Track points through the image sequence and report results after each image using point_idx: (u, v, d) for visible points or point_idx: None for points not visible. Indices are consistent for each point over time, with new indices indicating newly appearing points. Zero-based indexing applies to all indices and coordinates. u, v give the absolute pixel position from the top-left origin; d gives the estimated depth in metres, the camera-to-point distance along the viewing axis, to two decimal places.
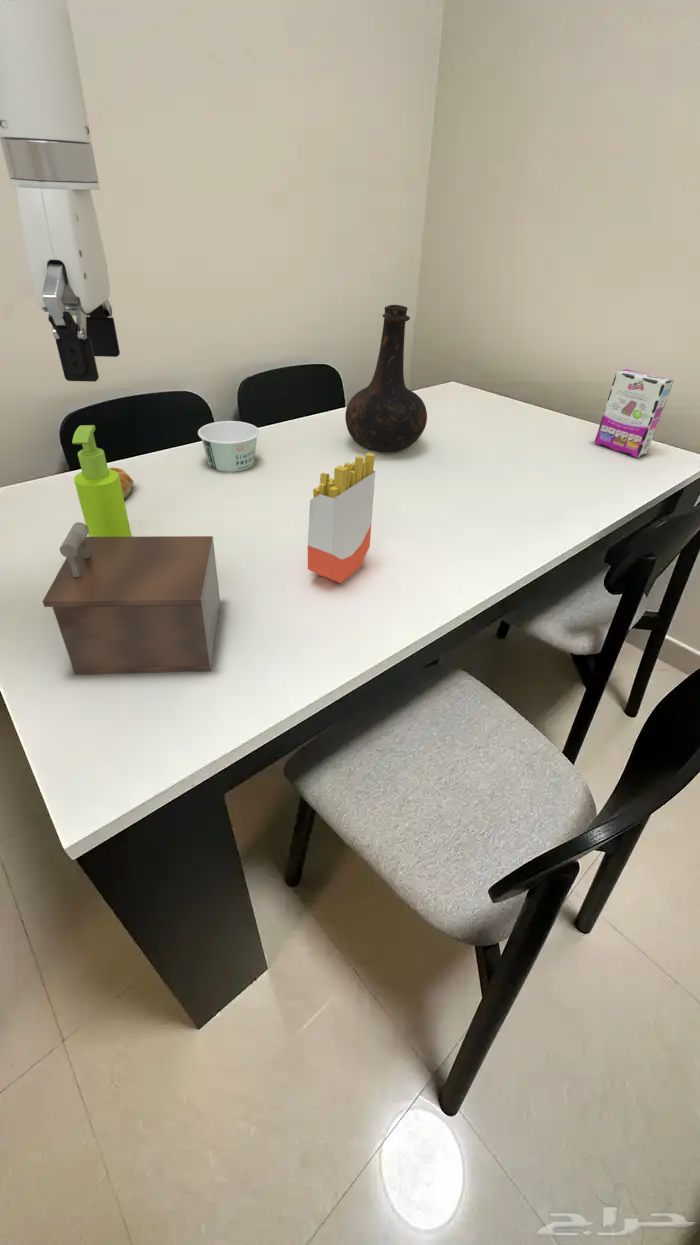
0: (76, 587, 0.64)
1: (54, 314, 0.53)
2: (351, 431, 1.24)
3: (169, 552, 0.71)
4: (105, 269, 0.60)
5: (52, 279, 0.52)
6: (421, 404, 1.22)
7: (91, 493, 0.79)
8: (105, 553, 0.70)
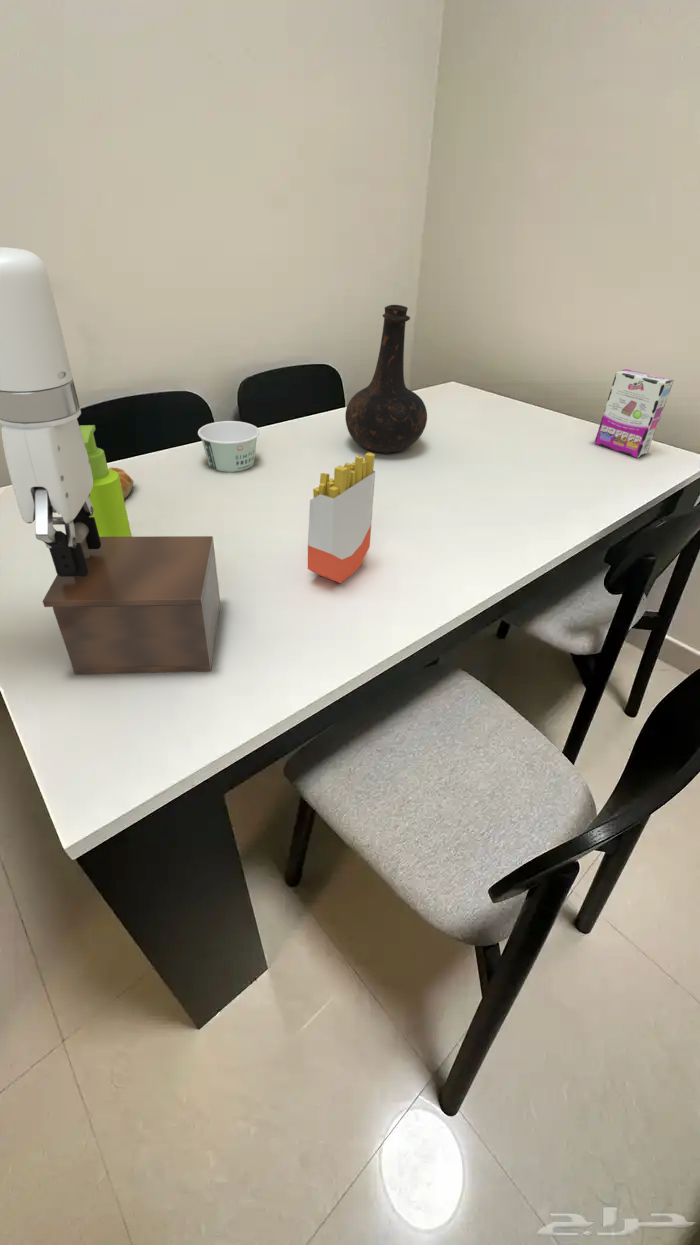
0: (76, 587, 0.64)
1: (47, 541, 0.58)
2: (351, 431, 1.24)
3: (169, 552, 0.71)
4: (87, 468, 0.64)
5: (41, 515, 0.57)
6: (421, 404, 1.22)
7: (91, 493, 0.79)
8: (105, 553, 0.70)
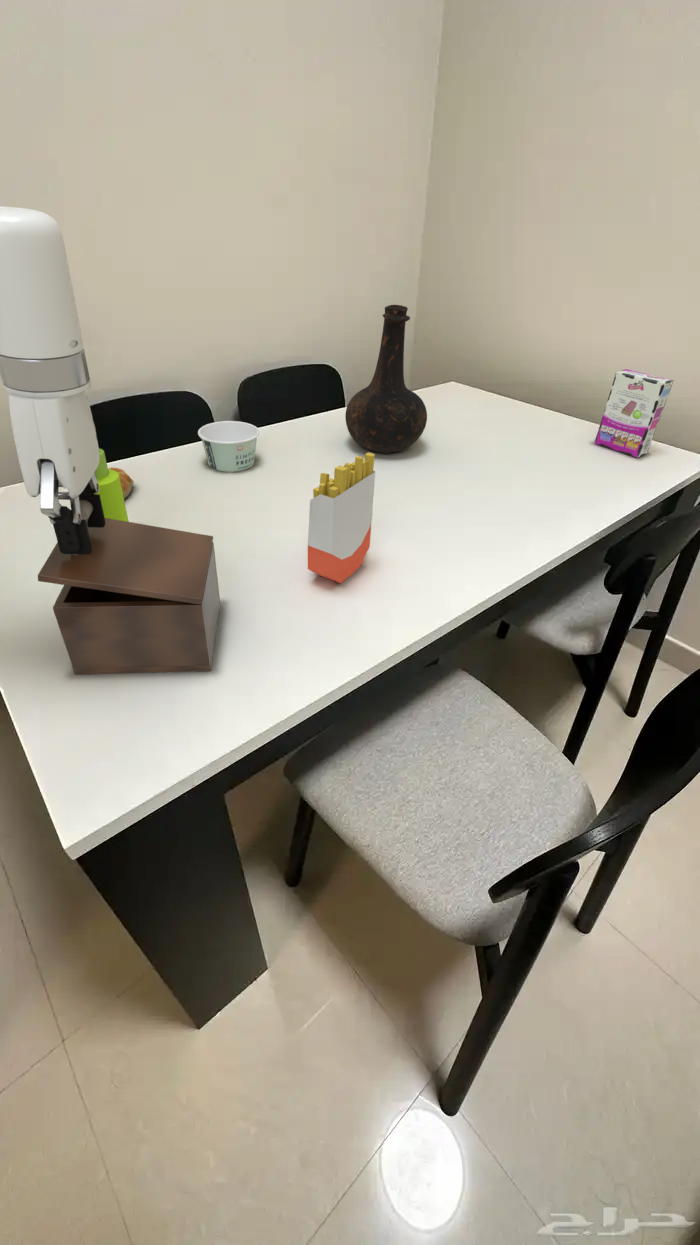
0: (74, 566, 0.62)
1: (52, 516, 0.57)
2: (351, 431, 1.24)
3: (169, 545, 0.70)
4: (95, 444, 0.62)
5: (47, 489, 0.55)
6: (421, 404, 1.22)
7: None
8: (103, 535, 0.68)
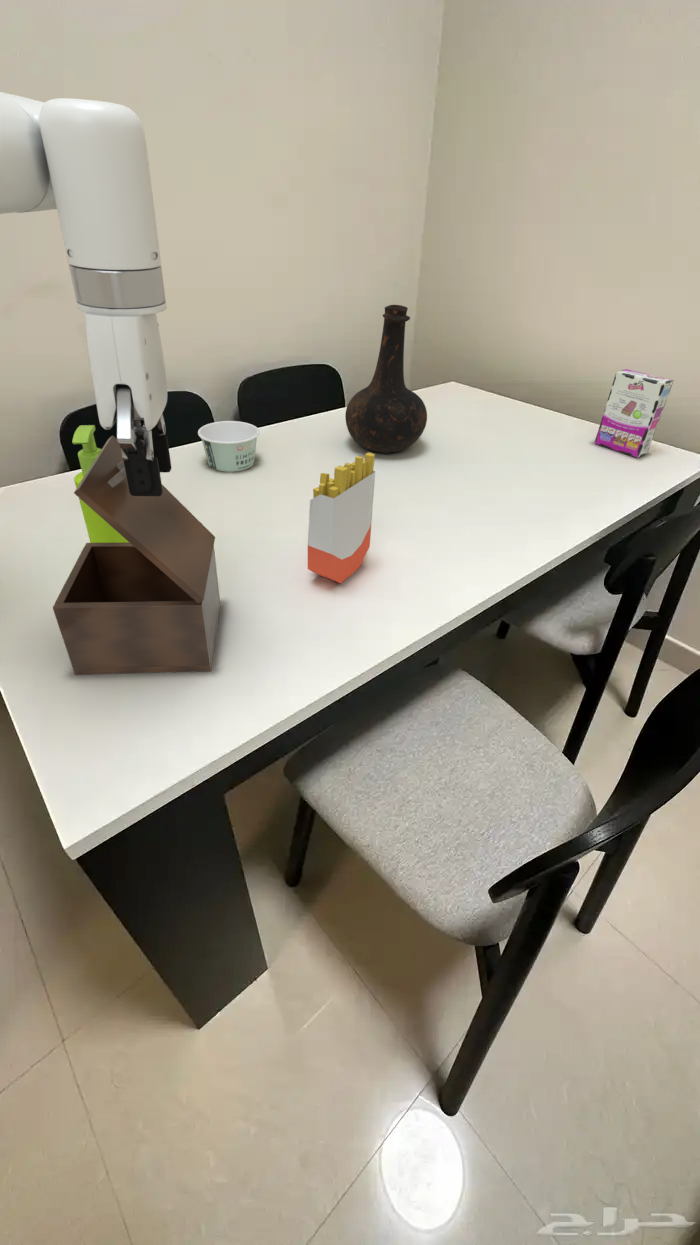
0: (109, 499, 0.58)
1: (127, 448, 0.53)
2: (351, 431, 1.24)
3: (183, 525, 0.69)
4: (165, 378, 0.58)
5: (123, 417, 0.52)
6: (421, 404, 1.22)
7: None
8: None
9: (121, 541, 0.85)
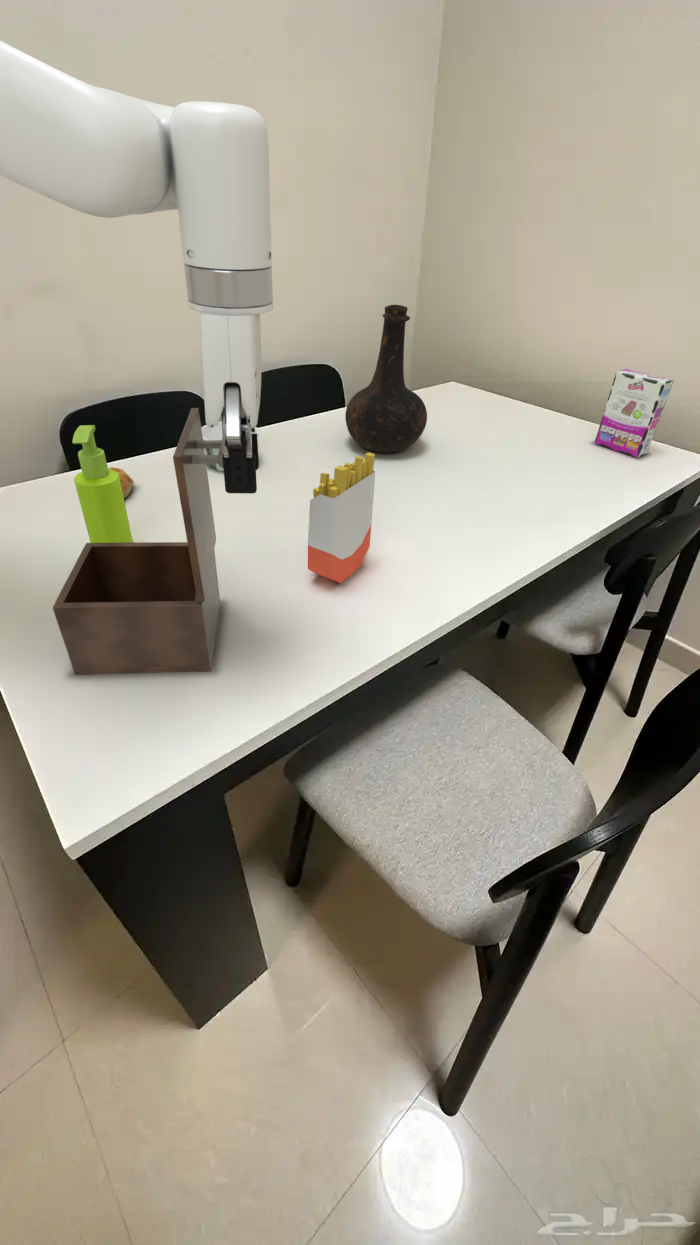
0: (189, 475, 0.57)
1: (233, 446, 0.54)
2: (351, 431, 1.24)
3: (208, 520, 0.68)
4: None
5: (232, 415, 0.52)
6: (421, 404, 1.22)
7: (91, 493, 0.79)
8: None
9: (121, 541, 0.85)
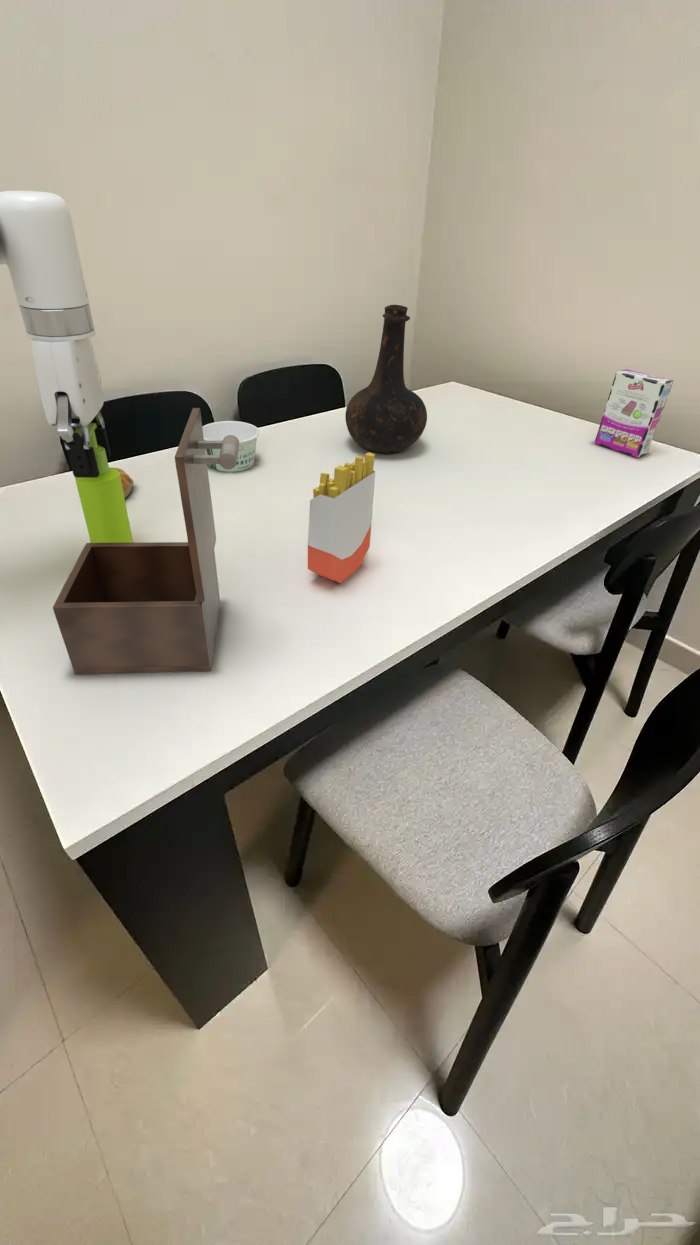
0: (190, 475, 0.57)
1: (66, 439, 0.71)
2: (351, 431, 1.24)
3: (208, 520, 0.68)
4: (99, 386, 0.76)
5: (62, 415, 0.69)
6: (421, 404, 1.22)
7: (92, 490, 0.80)
8: None
9: (121, 539, 0.85)
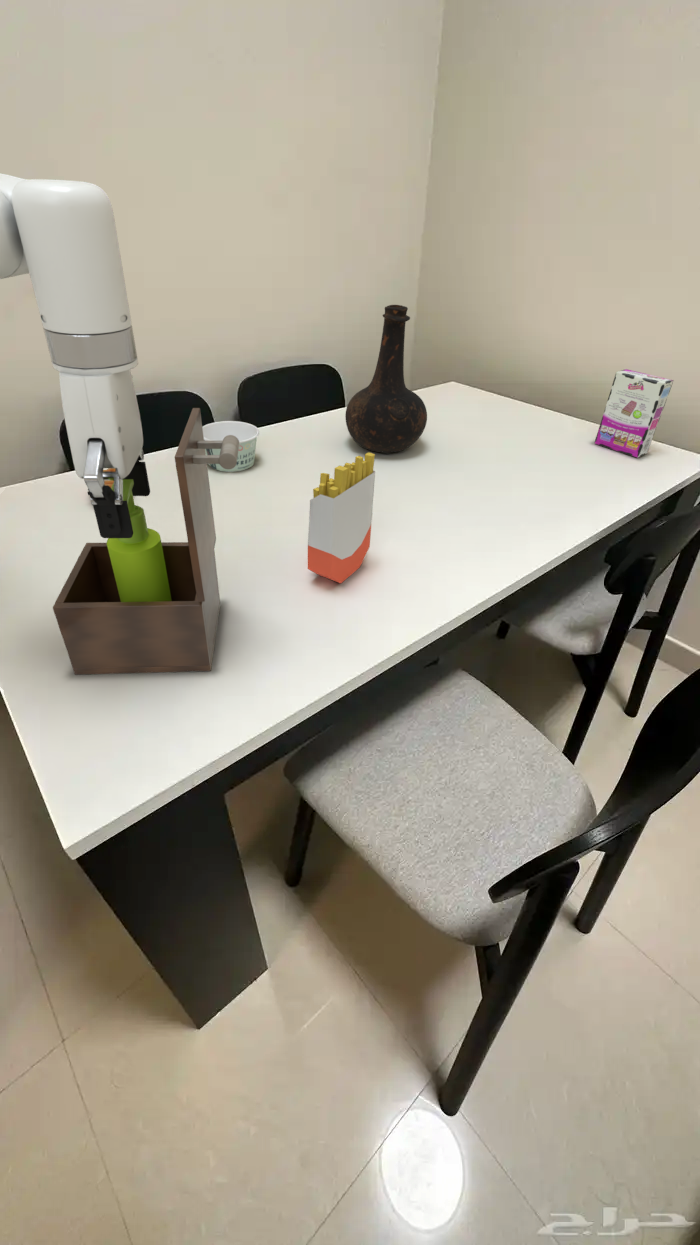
0: (190, 475, 0.57)
1: (94, 491, 0.54)
2: (351, 431, 1.24)
3: (208, 520, 0.68)
4: (139, 425, 0.61)
5: (93, 459, 0.53)
6: (421, 404, 1.22)
7: (128, 561, 0.65)
8: None
9: None
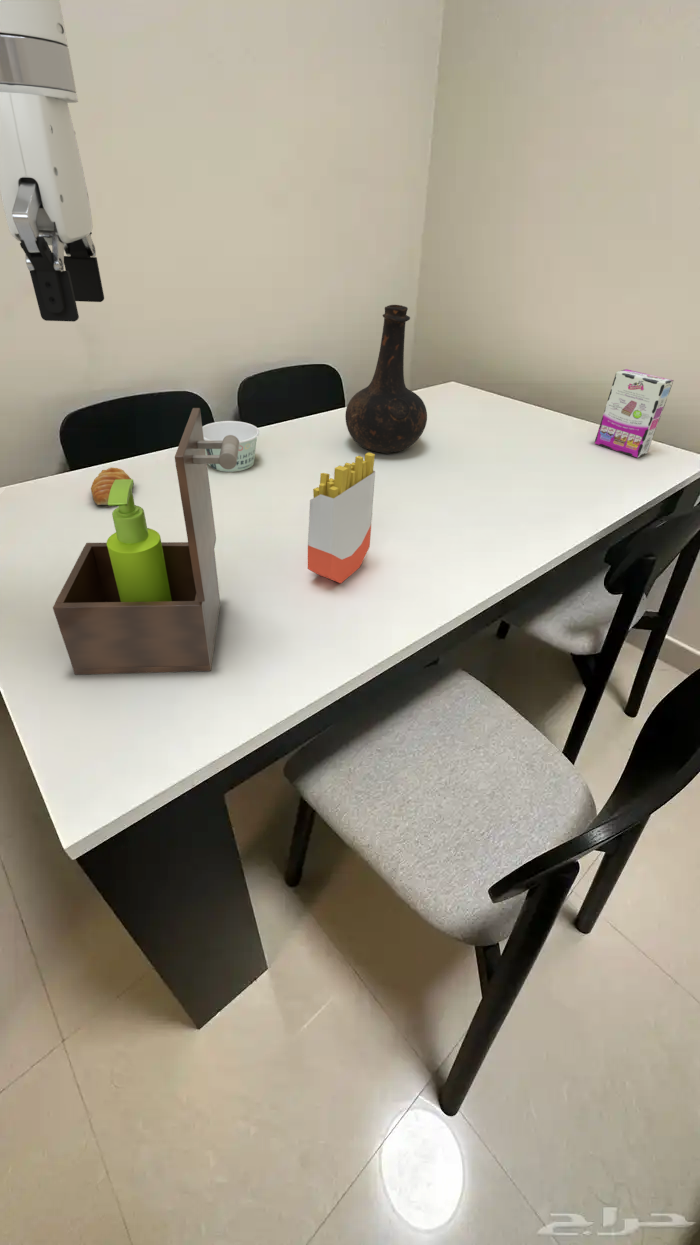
0: (190, 475, 0.57)
1: (26, 238, 0.47)
2: (351, 431, 1.24)
3: (208, 520, 0.68)
4: (86, 199, 0.55)
5: (23, 198, 0.47)
6: (421, 404, 1.22)
7: (128, 561, 0.65)
8: None
9: None
